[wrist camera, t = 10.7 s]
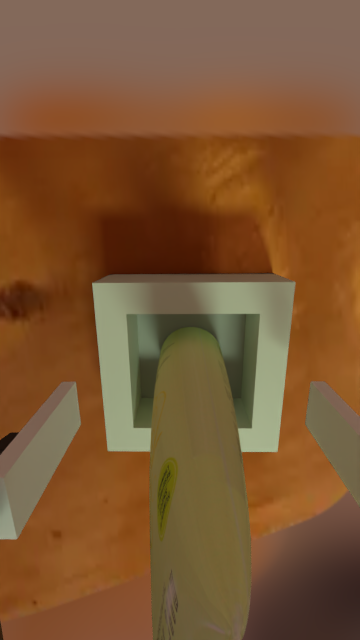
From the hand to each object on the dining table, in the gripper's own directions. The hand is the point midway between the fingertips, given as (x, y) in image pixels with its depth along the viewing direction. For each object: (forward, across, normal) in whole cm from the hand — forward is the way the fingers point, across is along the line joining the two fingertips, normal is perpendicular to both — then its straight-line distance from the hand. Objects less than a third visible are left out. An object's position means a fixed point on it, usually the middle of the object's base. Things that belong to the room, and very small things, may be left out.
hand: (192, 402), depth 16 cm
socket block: (+8, 0, 0) cm, 8 cm away
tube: (+8, 0, 0) cm, 8 cm away
